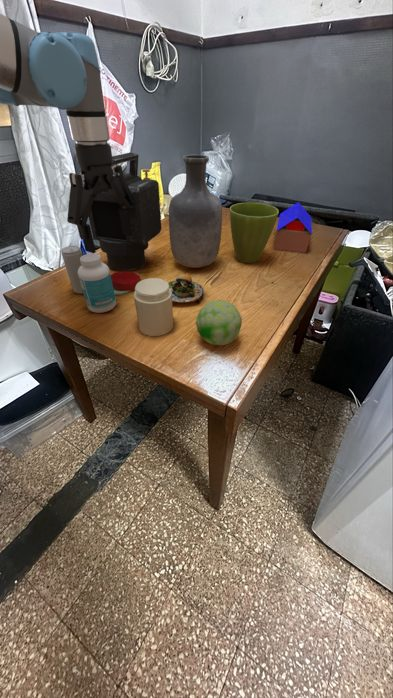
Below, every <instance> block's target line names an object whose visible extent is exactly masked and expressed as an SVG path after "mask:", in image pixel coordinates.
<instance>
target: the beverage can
mask: <svg viewBox="0 0 393 698" xmlns="http://www.w3.org/2000/svg"><path fill="white" fill-rule="evenodd" d="M60 251H61V256H62V259H63V263H64V266H65V269H66V272H67V275H68V278H69V281H70V284H71V287H72V291H73V292H74V293H75V294H78V295H84V293H83V290H82V287H81V283H80V280H79V277H78V269H79V268H80V266H82V264H81V262H80V257H81V256H83V253H82V250H81V247H79V246H77V245H68V246H65V247H63V248H61V250H60Z"/></svg>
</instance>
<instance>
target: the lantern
mask: <svg viewBox="0 0 393 698" xmlns="http://www.w3.org/2000/svg"><path fill="white" fill-rule="evenodd" d="M139 157H140V155H139V154H138V153H134V152H126V153H121V154H117V155H112V159H113V163H112V164H111V165H120V164H123V163H127V162H129V171H128V172H123V176H124V178H125V180H126V183H127V185H128V187H129V189H130V191H131V194H132V196H133V198H134V200H135V204H134V205H133V209H132V210H131V209H130V214H131V221H130V223H131V231H132V236H127V235H123V233H122V226H121V219H120V213H119V209H123V208H122V207H121V206H120V205H119V204H118V203H117V201H116V200H115V199H114V198H113V196H112V195H111V194H110V193H109V192H108V191H103V192H102V193H98V194H97V196H96V197H95V198H94V201H93V204H92V207H91V210H90V213H89V217H88V220H89V225H90V228H91V233H92V237H93V241H98V243H99V247H100V250H101V252H102V253H105V254H106V258H107V264H108V267H109V268H110V269H113V270H117V271H132V270H133V271H134V270H137V269H141V268H142V267H143V266H145V264H146V252H145V250H147V249H148V248H149V242H150V241H151V240H153V239H154V238H156V237H157V236H158V235H160V233H161V231H162V216H161V215H162V214H161V213H162V212H161V201H160V199H161V198H160V184H159V182H158V180H156V179H151V178H150V177H149V175H148V173H150V172H151V169H150V168H142V170H141V171H142V172H143V173H144V176H145V177H144V178H143V179H142V177H141V176H139V175H138V173H139V172H138V171H139ZM112 180H113V181H114V178H113V177H112ZM114 182H115V181H114ZM115 184H116V183H115ZM117 188H118V187H117ZM89 190H90V189H89ZM90 191H91V190H90ZM128 199H129V198H128Z"/></svg>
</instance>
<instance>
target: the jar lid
mask: <svg viewBox="0 0 393 698" xmlns="http://www.w3.org/2000/svg"><path fill="white" fill-rule="evenodd" d="M110 275H111V280H112V284H113V288H115V289H118V290H124V291H129V290H132V291H135V287H136V284H137V283H138V282H140V281H142V279H141V276H140V275H139V274H138V273H136V272H134V271H130V270H118V271H115V272H112V273H110Z"/></svg>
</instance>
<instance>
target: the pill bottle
mask: <svg viewBox="0 0 393 698" xmlns="http://www.w3.org/2000/svg"><path fill="white" fill-rule="evenodd" d="M80 262H81V264H82V266H80V268H79V269H78V277H79V280H80V283H81V287H82V290H83V293H84V294H83V296H84V300H85V303H86V306H87V309H88V310H89V311H90V312H92V313H95V314H96V313H97V314H103V313H107V312H110V311H111V310H114V309H115V307H116V305H117V299H116V295H115V293H114V289H113V284H112V280H111V271H110V266H109V265H107V264H106V263H104V262H102V257H101V255H100V254H98V253H85V254H82V256H81V257H80Z"/></svg>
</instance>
